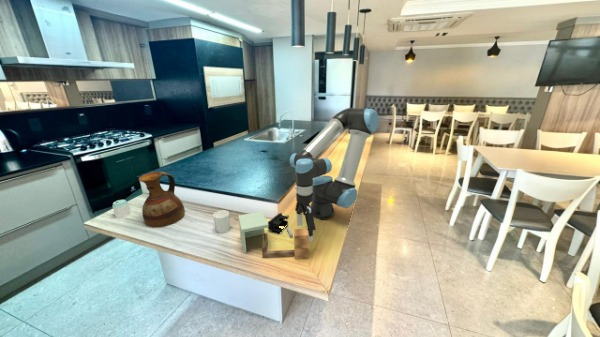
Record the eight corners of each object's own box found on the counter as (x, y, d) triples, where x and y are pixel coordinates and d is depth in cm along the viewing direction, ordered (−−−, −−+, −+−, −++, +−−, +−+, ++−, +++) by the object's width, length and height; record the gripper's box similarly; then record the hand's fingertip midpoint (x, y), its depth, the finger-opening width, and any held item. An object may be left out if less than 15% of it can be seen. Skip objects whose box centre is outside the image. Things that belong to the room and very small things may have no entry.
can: (117, 225, 127) (111, 205, 124) (116, 220, 133) (111, 201, 129) (132, 220, 132) (127, 202, 128) (131, 216, 137) (126, 197, 133)
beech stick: (287, 217, 134) (287, 214, 134) (288, 218, 133) (288, 215, 133) (267, 226, 126) (267, 223, 125) (269, 227, 124) (268, 224, 124)
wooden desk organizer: (306, 241, 112) (306, 219, 109) (308, 258, 101) (308, 235, 97) (264, 242, 111) (263, 221, 108) (262, 260, 100) (260, 237, 96)
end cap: (277, 222, 129) (277, 211, 127) (288, 225, 126) (288, 214, 124) (267, 231, 121) (266, 220, 119) (278, 235, 118) (277, 223, 116)
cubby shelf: (264, 232, 120) (262, 211, 116) (269, 247, 108) (268, 224, 104) (240, 237, 116) (238, 215, 112) (243, 253, 104) (241, 229, 100)
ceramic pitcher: (138, 226, 127) (124, 175, 117) (172, 210, 143) (162, 164, 134) (159, 235, 118) (147, 181, 108) (193, 217, 135) (184, 169, 125)
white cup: (225, 225, 127) (223, 208, 124) (234, 230, 122) (232, 213, 119) (212, 231, 121) (210, 214, 118) (220, 236, 116) (218, 219, 113)
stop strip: (288, 230, 121) (288, 227, 121) (292, 237, 115) (292, 234, 115) (286, 230, 121) (286, 227, 120) (290, 238, 115) (290, 234, 114)
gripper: (288, 184, 114) (289, 221, 121) (306, 206, 92) (307, 250, 98) (302, 182, 116) (302, 218, 123) (323, 203, 94) (322, 246, 101)
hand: (304, 232), depth 111 cm, fingers open, 13 cm apart
